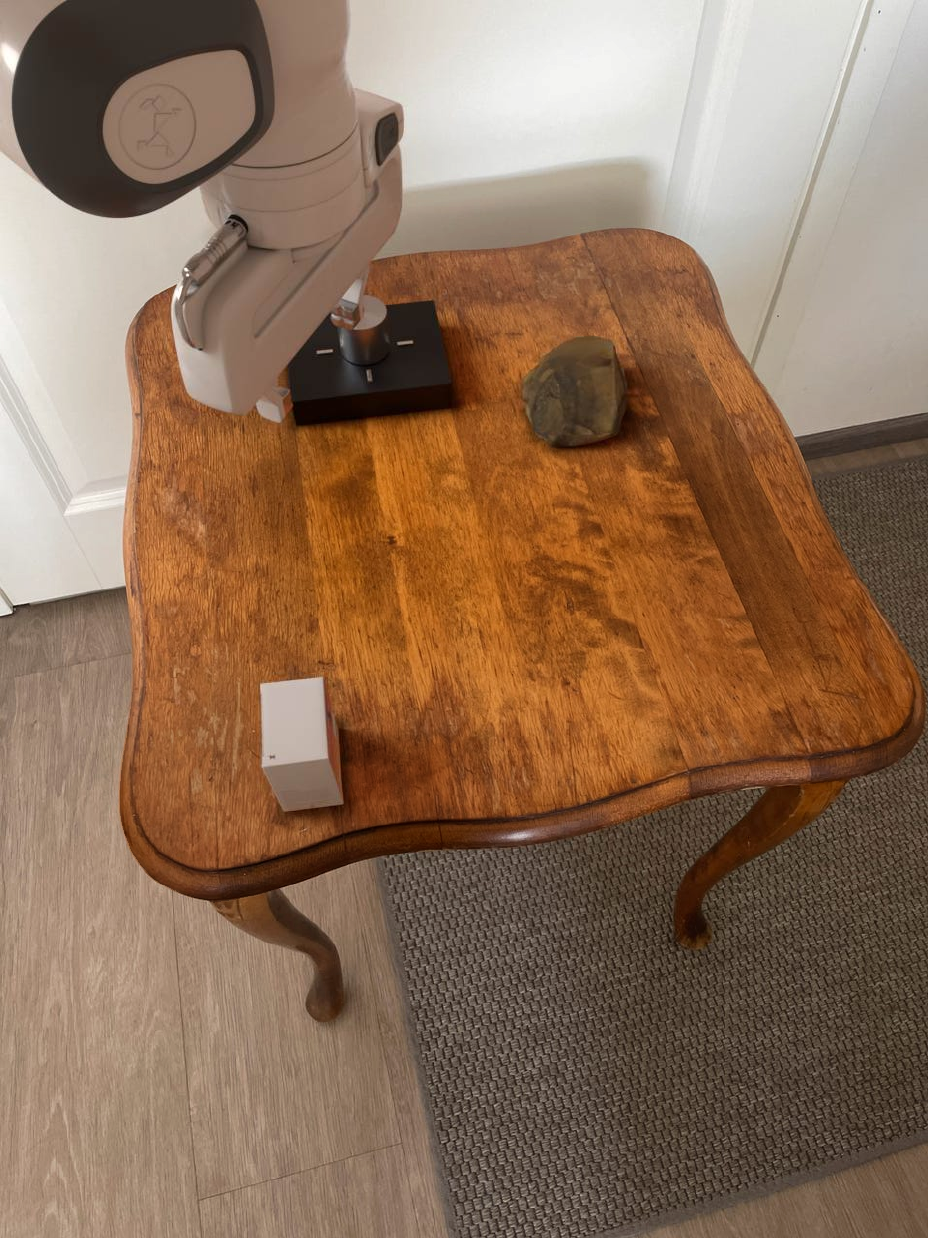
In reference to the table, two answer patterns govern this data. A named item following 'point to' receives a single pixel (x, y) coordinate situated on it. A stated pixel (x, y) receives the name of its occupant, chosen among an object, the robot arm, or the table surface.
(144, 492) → the table surface
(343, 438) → the table surface
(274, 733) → the small box
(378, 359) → the dial
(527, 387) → the decorative stone
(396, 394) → the panel
